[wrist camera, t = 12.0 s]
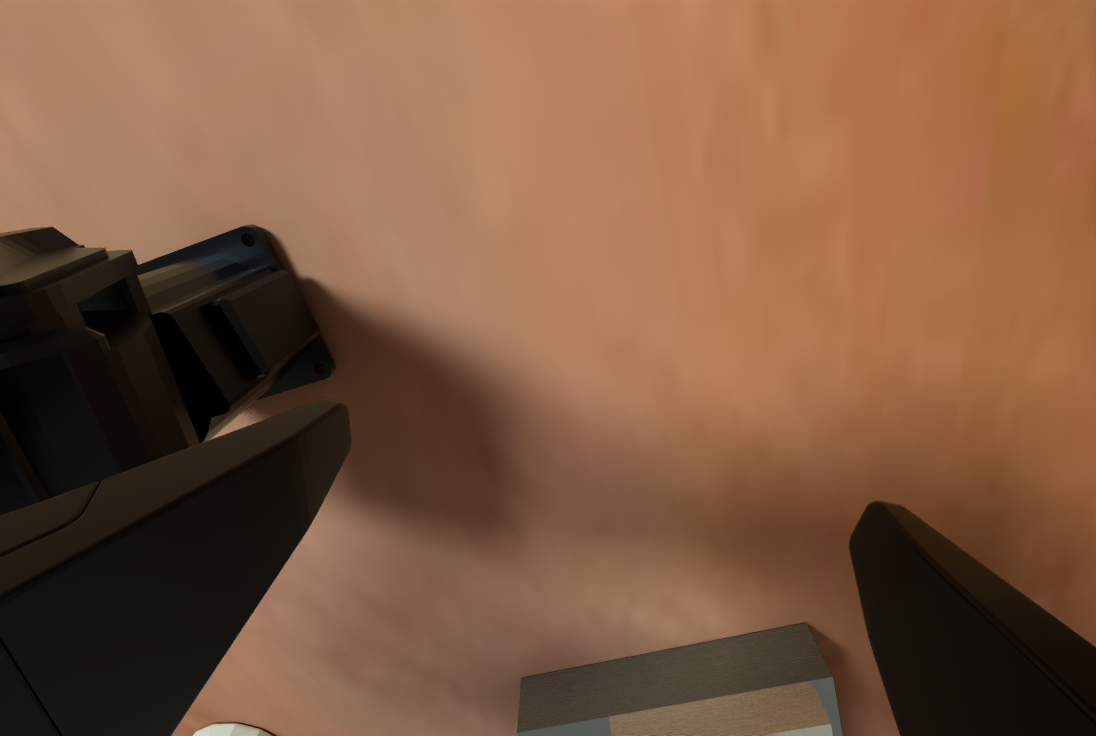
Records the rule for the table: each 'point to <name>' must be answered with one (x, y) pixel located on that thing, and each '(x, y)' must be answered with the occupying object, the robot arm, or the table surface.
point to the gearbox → (691, 692)
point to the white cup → (230, 730)
